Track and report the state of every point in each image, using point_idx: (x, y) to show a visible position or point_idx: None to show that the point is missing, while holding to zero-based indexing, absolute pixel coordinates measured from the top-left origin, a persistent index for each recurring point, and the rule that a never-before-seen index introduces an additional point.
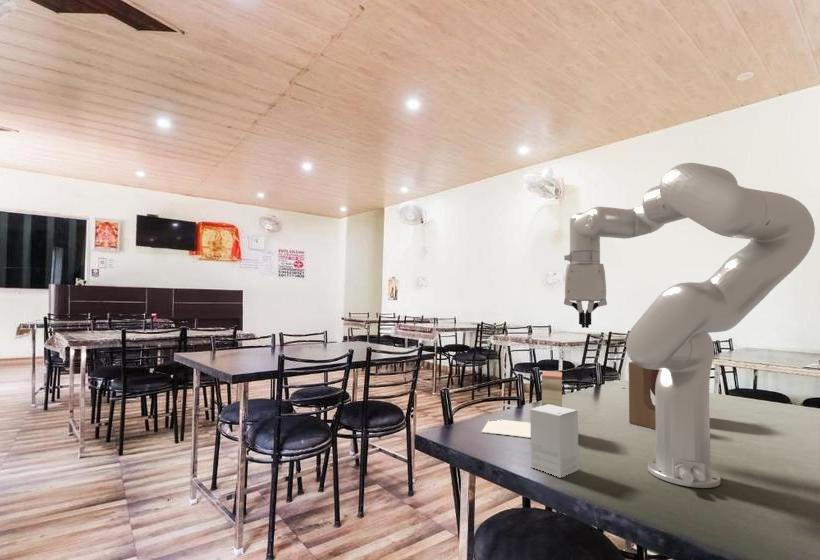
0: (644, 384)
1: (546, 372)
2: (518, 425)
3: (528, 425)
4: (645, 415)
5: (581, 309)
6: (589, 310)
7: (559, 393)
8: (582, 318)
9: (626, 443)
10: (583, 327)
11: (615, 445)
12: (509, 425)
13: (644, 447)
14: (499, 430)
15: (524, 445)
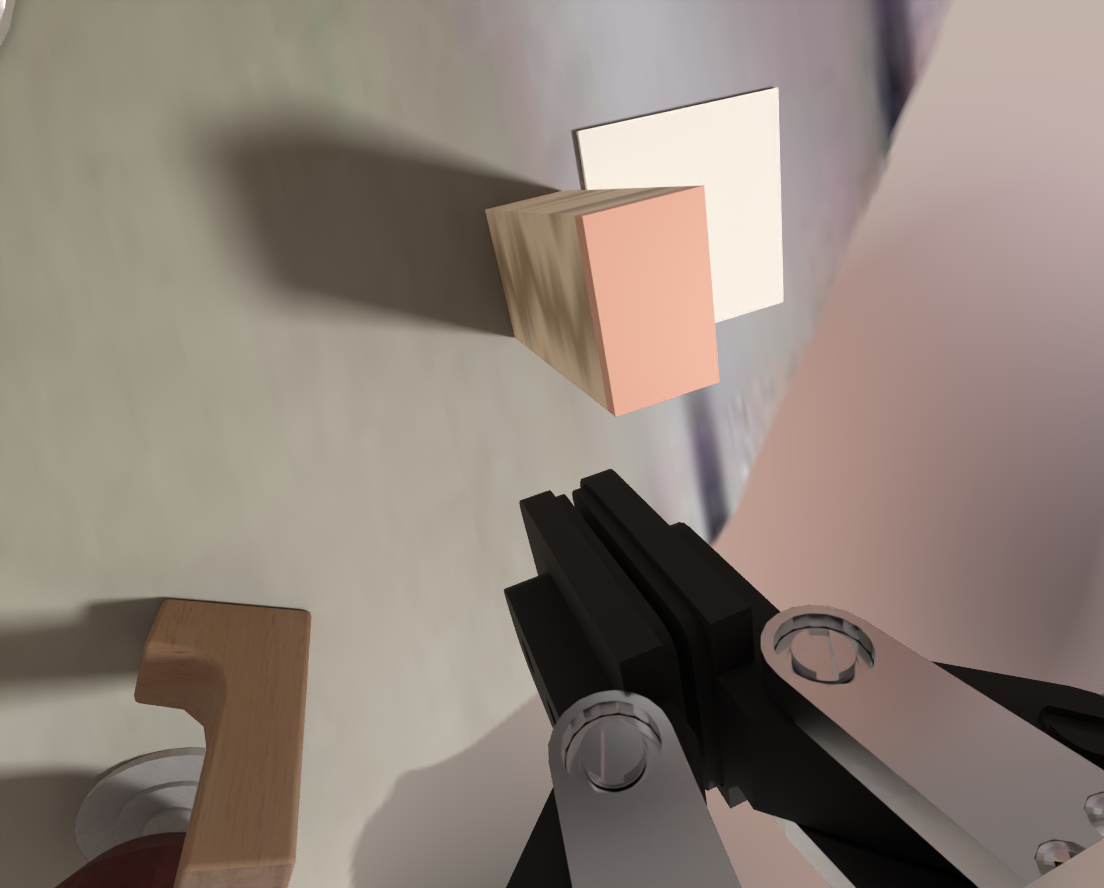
0: (205, 757)
1: (694, 334)
2: None
3: None
4: (228, 634)
5: (818, 686)
6: (627, 742)
7: (557, 210)
8: (673, 536)
9: (234, 316)
10: (590, 479)
11: (265, 254)
12: None
13: (147, 305)
14: (721, 151)
15: (593, 5)
